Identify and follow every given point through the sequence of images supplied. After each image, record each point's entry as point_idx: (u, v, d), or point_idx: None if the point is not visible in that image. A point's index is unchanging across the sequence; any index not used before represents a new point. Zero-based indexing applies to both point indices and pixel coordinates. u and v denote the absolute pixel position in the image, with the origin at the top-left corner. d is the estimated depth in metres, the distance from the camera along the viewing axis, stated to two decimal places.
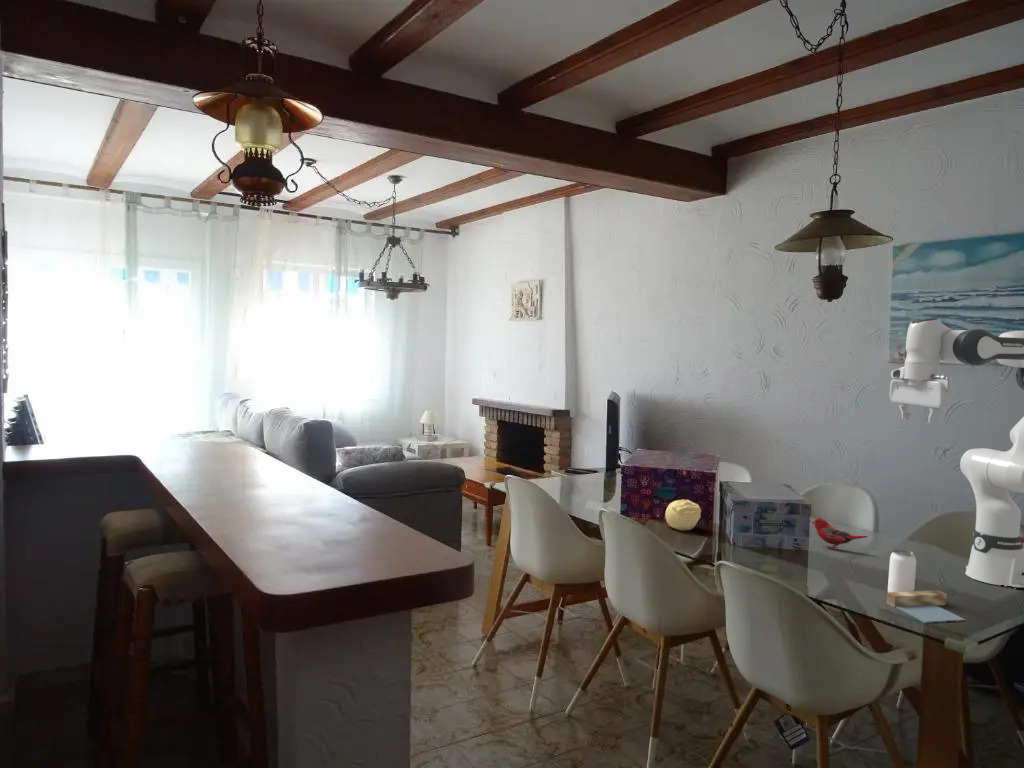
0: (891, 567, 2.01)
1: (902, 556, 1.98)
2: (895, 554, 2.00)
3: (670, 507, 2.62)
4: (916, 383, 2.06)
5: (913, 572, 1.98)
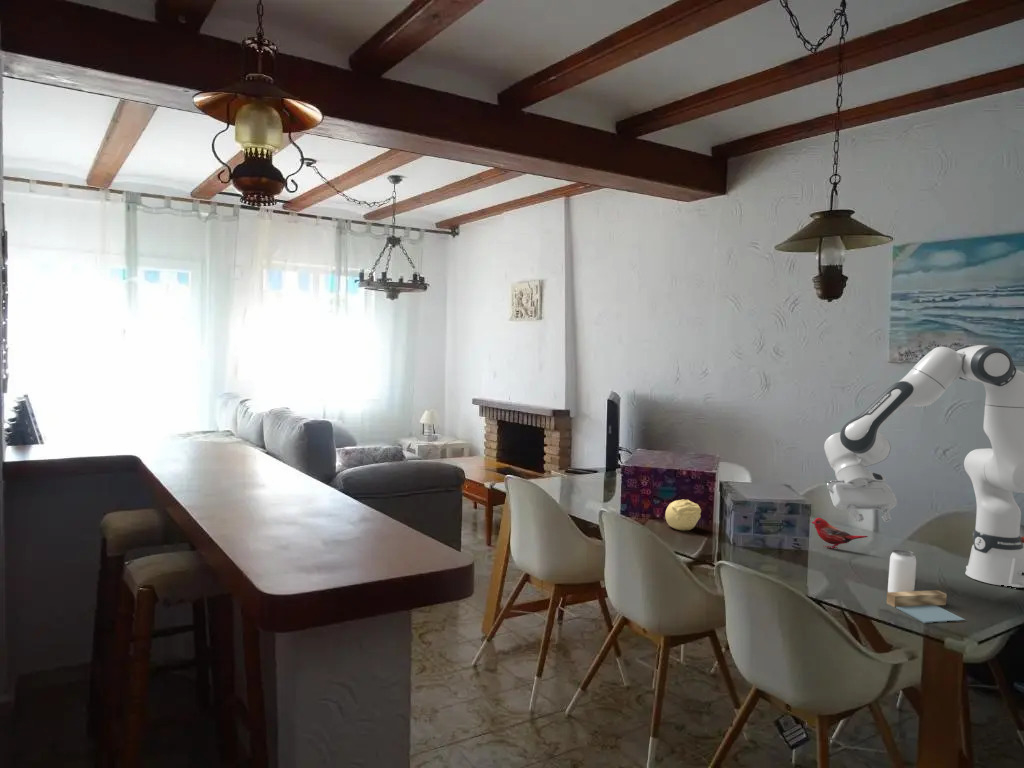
0: (891, 567, 2.01)
1: (902, 556, 1.98)
2: (895, 554, 2.00)
3: (670, 507, 2.62)
4: None
5: (913, 572, 1.98)
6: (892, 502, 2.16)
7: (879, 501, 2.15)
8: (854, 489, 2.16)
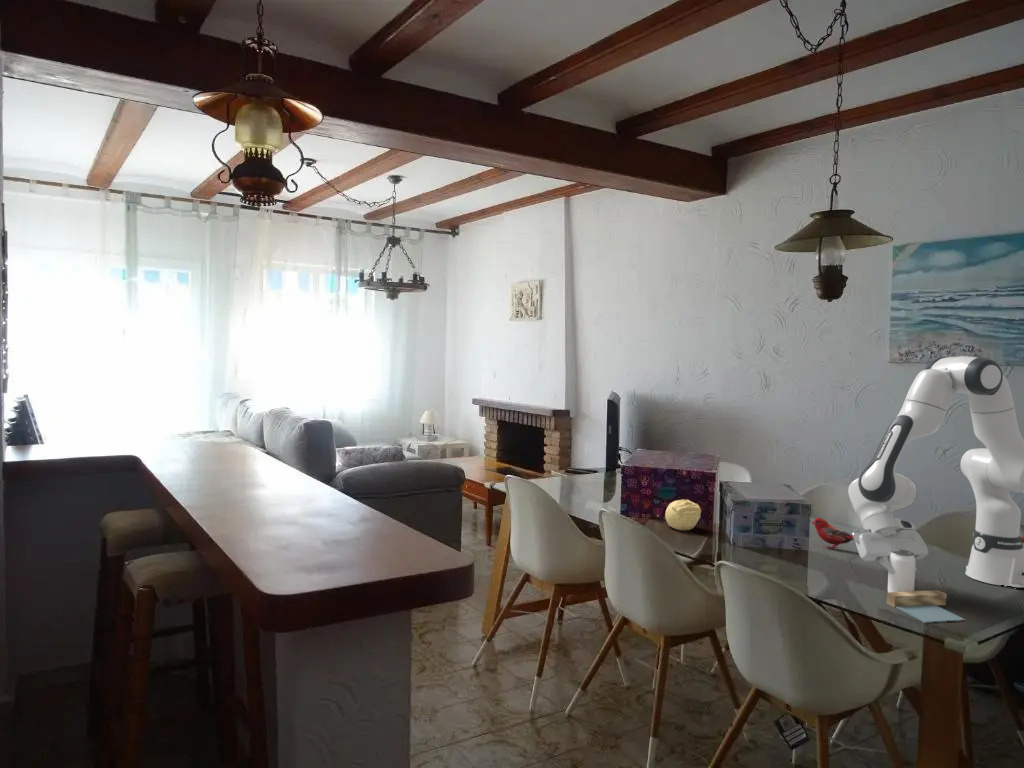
0: None
1: (901, 556, 1.98)
2: (894, 554, 2.00)
3: (670, 507, 2.62)
4: None
5: (912, 572, 1.98)
6: (923, 552, 2.04)
7: None
8: (882, 539, 2.05)
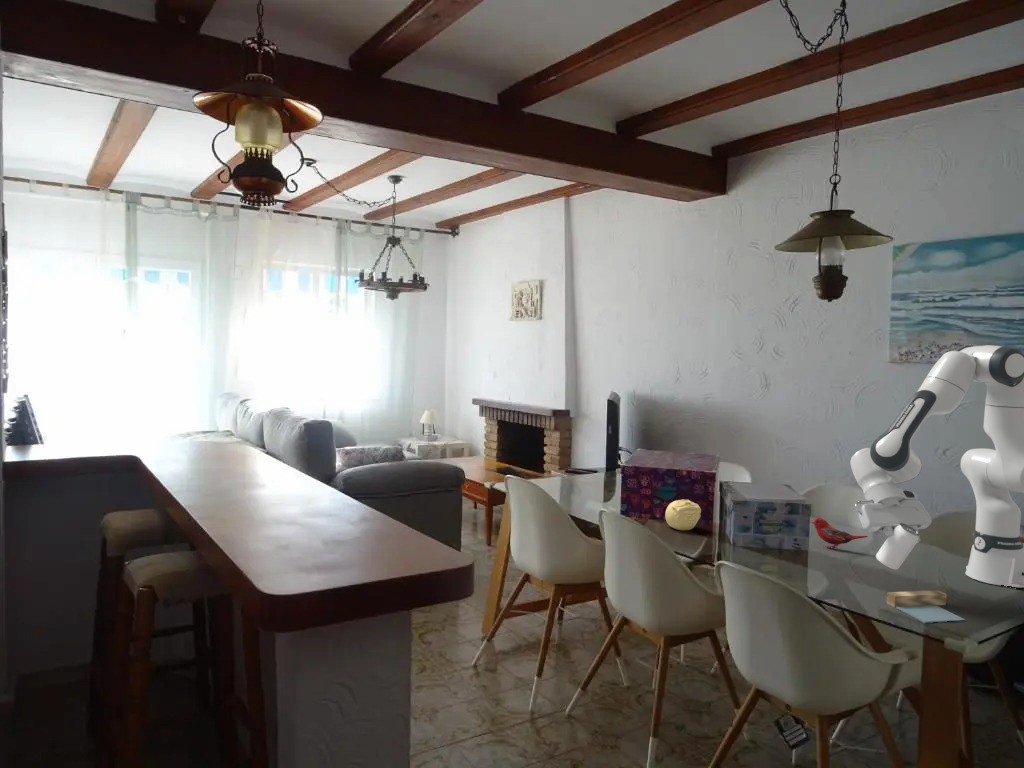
0: (891, 537, 2.00)
1: (907, 532, 1.97)
2: (901, 528, 1.98)
3: (670, 507, 2.62)
4: None
5: (909, 549, 1.98)
6: (926, 521, 2.03)
7: (912, 521, 2.02)
8: (884, 509, 2.04)
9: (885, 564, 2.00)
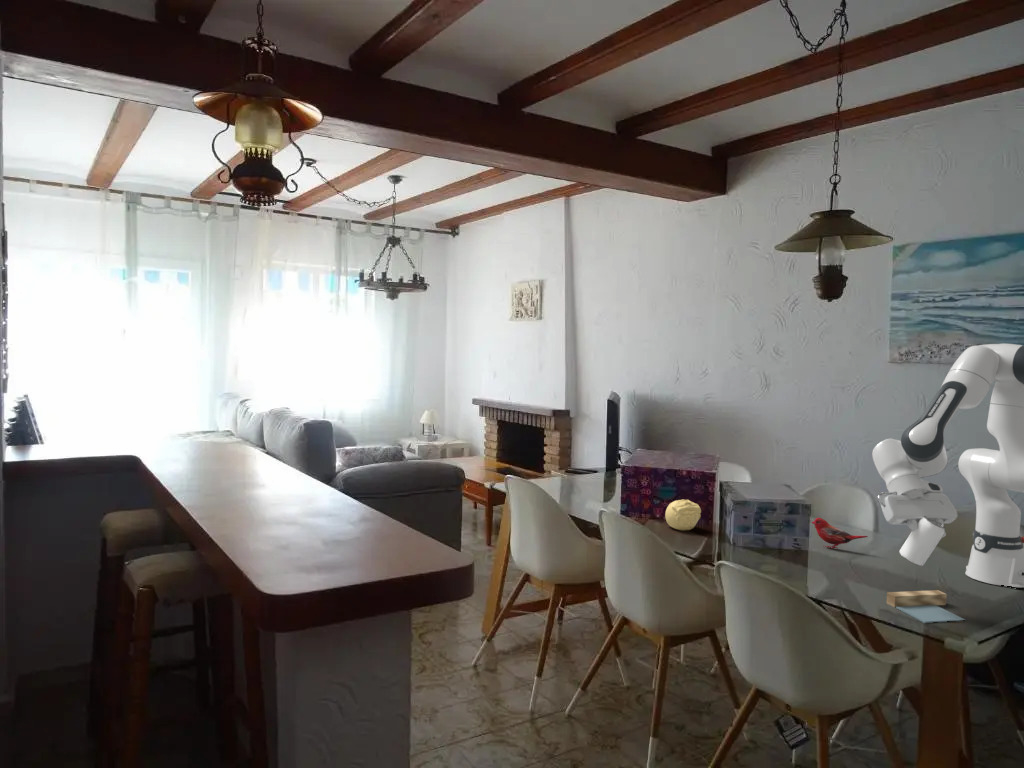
0: (915, 531, 1.91)
1: (933, 525, 1.88)
2: (926, 520, 1.89)
3: (670, 507, 2.62)
4: None
5: (935, 543, 1.89)
6: (952, 515, 1.94)
7: (937, 515, 1.93)
8: (909, 501, 1.95)
9: (910, 559, 1.90)
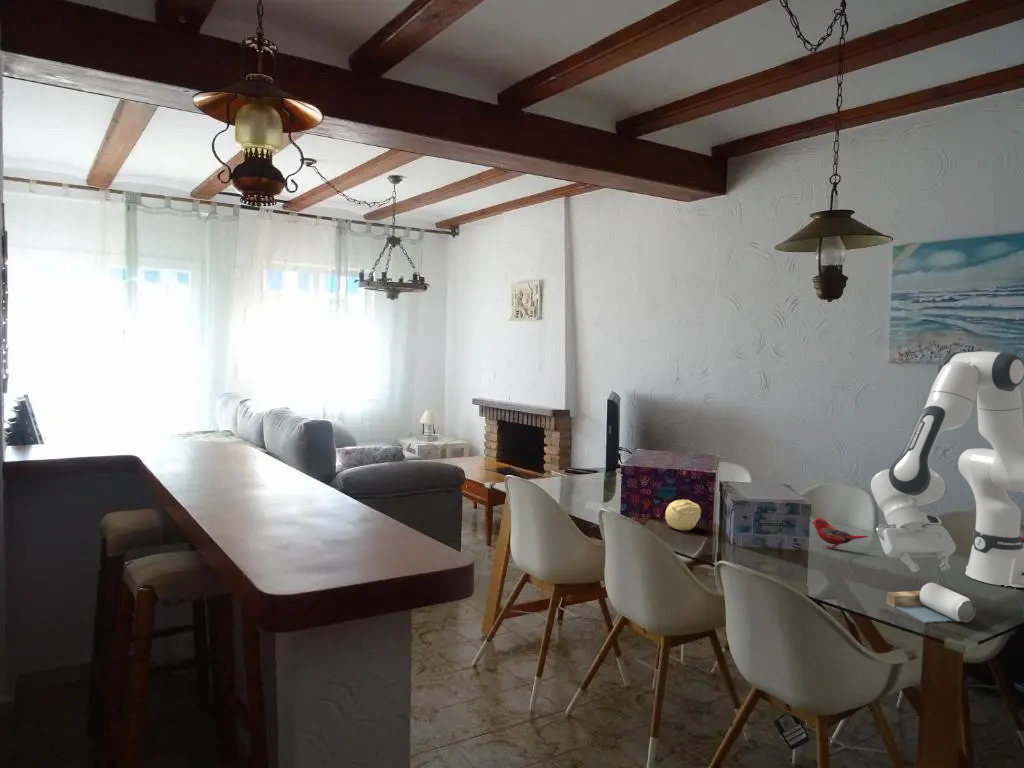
0: (953, 592, 1.84)
1: (959, 605, 1.80)
2: (964, 600, 1.80)
3: (670, 507, 2.62)
4: None
5: (941, 610, 1.84)
6: (950, 548, 1.94)
7: (936, 548, 1.93)
8: (907, 534, 1.95)
9: (922, 588, 1.91)
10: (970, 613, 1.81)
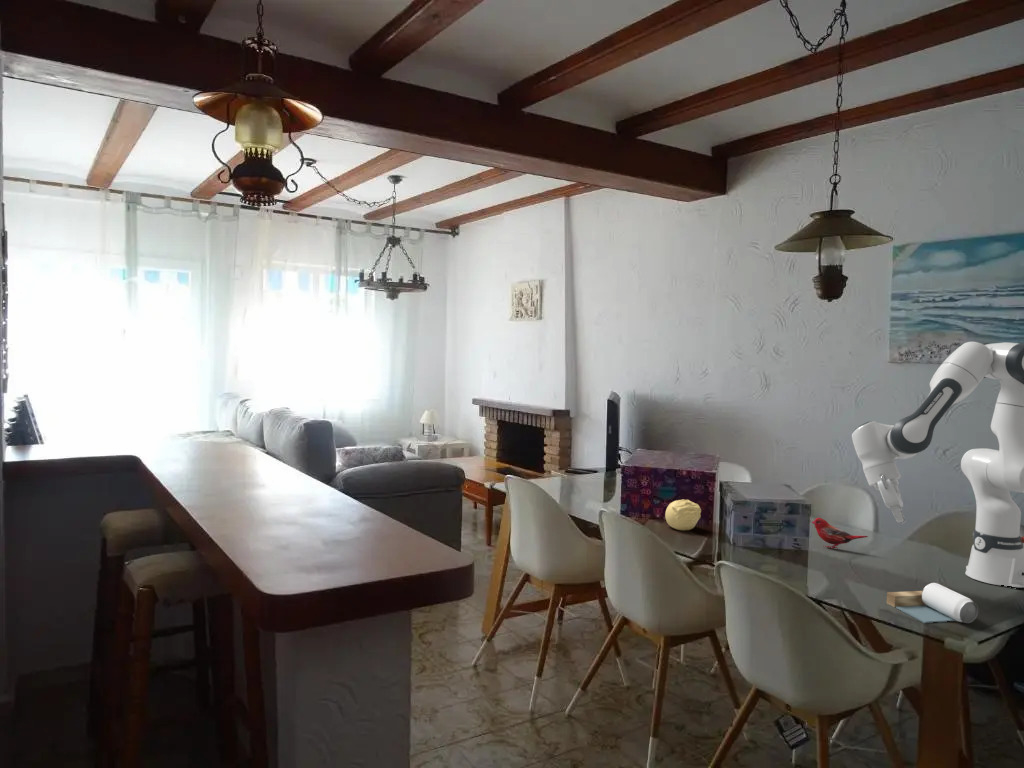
0: (958, 593, 1.84)
1: (962, 604, 1.80)
2: (969, 601, 1.81)
3: (670, 507, 2.62)
4: (876, 487, 2.09)
5: (943, 608, 1.84)
6: (902, 504, 2.13)
7: (901, 503, 2.09)
8: None
9: (927, 586, 1.91)
10: (971, 615, 1.81)
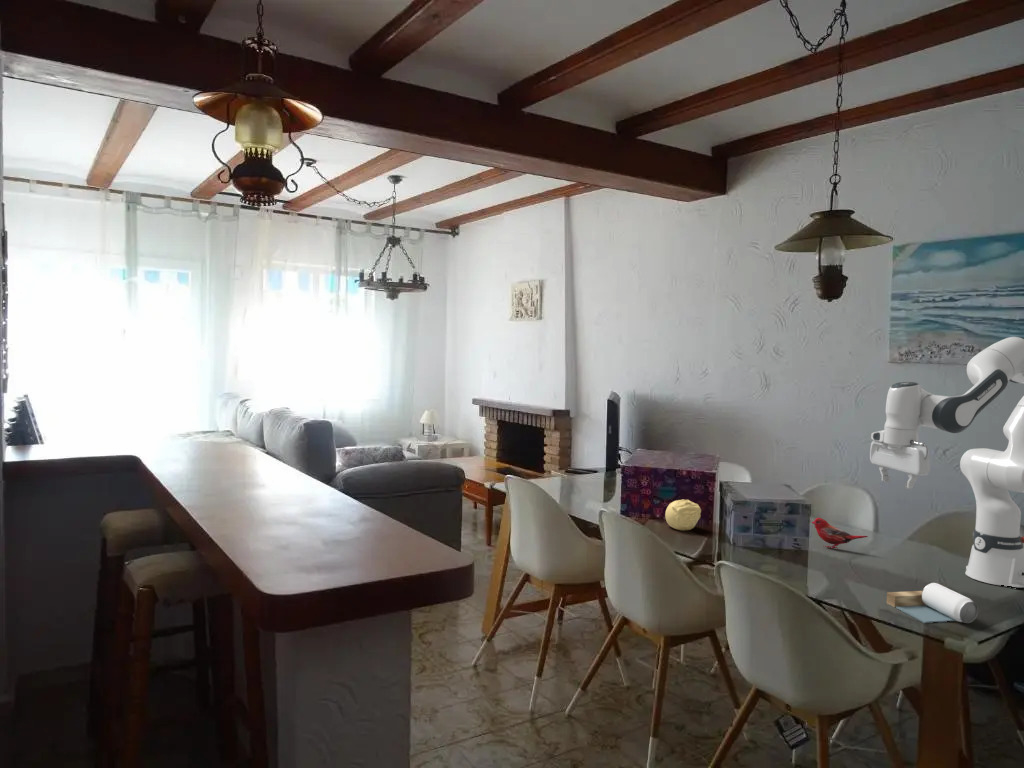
0: (958, 593, 1.84)
1: (962, 604, 1.80)
2: (969, 601, 1.81)
3: (670, 507, 2.62)
4: (895, 448, 2.06)
5: (943, 608, 1.84)
6: None
7: None
8: None
9: (927, 586, 1.91)
10: (971, 615, 1.81)
